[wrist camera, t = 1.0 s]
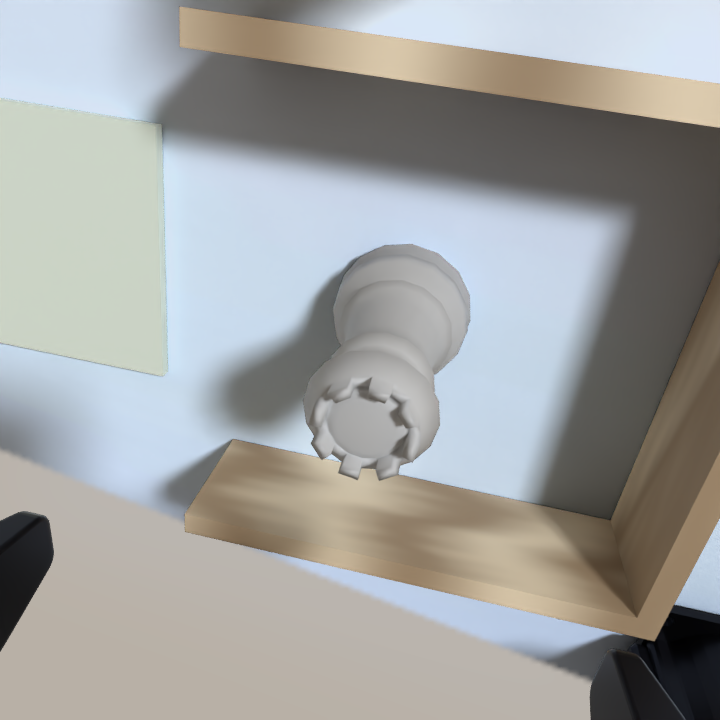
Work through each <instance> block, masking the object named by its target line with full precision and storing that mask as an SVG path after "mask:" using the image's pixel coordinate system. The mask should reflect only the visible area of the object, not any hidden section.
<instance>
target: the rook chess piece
mask: <svg viewBox="0 0 720 720" xmlns="http://www.w3.org/2000/svg"><path fill="white" fill-rule="evenodd" d="M333 315H334V323H335V331H336V338H337V340H338V341H339V343H340V345H341V346H340V347H339V348H338V349H337V350H336V351H335V352H334V353H333V355H332V357H331V359H329V360H327V361H325V363H324V364H323V365H322V366H321V367H320V368H319V369H318V370H317V371H316V372H315V373H314V374H313V375H312V376H311V377H310V379H309V382H308V385H307V388H306V392H305V395H304V398H303V404H304V411H305V417H306V423H307V425H308V427H309V428H310V430H311V431H312V433H313V435H314V438H313V440H312V442H311V444H312V446H313V448H314V449H315V451H316V452H317V454H318V456H319V457H320V459H321V460H323V459H324V458H326V457H328V456H329V455H331V454H333V455H334V456H335V457H336V458H338V459H339V460H341V461H342V462H341V465H340V468H339V471H338V473H339V474H342V475H345V476H347V477H350V478H353V479H356V480H358V478H359V475H360V471H361V468H363V469H376V474H377V477H378V480H379V481H381V480H384V479H387V478H390V477H393V476H396V475H398V473H399V468H400V465H403V464H406V463H409V462H412V463H413V461H414V460H415V459H416V458H417V457H418V456H420V455H421V454H422V453H423V452H424V451H425V450H427V449H428V448H429V447H430V446H431V444H432V442H433V439H434V437H435V435H436V433H437V430H438V428H439V426H440V417H439V401H438V399H437V397H436V395H435V393H434V392H435V389H434V374H437V373H438V372H439V371H440V370H441V369H442V368H443V367H444V366H446V365H447V364H448V363H449V362H450V361H451V360H452V359H453V358H454V357H455V356H456V355H457V354H458V352H459V350H460V347H461V345H462V343H463V340H464V338H465V336H466V334H467V331H468V328H467V327H468V325H469V322H470V295H469V293H468V290H467V288H466V286H465V284H464V282H463V280H462V278H461V276H460V273H459V271H457V270H456V269H455V268H454V267H453V266H452V265H451V264H450V263H448V262H447V261H446V260H445V259H444V258H443V257H442V256H441V255H439V254H438V253H436V252H433V251H430V250H427V249H424V248H422V247H419V246H416V245H413V244H402V245H384V246H382V247H380V248H377V249H375V250H373V251H371V252H369V253H367V254H365V255H363V256H360V257H359V259H358V260H357V261H356V262H355V263H354V264H353V265H352V267H351V268H350V269H349V270H348V271H347V272H346V273H345V275H344V276H343V279H342V282H341V285H340V287H339V290H338V294H337V297H336V300H335V304H334V307H333Z"/></svg>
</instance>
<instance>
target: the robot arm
mask: <svg viewBox="0 0 720 720" xmlns="http://www.w3.org/2000/svg"><path fill="white" fill-rule="evenodd" d="M53 555H54V550H53V543H52V537H51V530H50V523H49V520H48V519H47V517H46V516H44V515H40V514H36V513H31V512H26V511H23V512H18V513H16V514H14V515H12V516H9V517H7V518H5V519H3V520H1V521H0V651H1V650H2V648H3V646H4V645H5V643H6V642H7V640H8V638H9V636H10V635H11V633H12V631H13V630H14V628H15V626H16V624H17V623H18V621H19V619H20V618H21V616H22V614H23V612H24V611H25V609H26V607H27V606H28V604H29V602H30V600H31V599H32V597H33V595H34V593H35V592H36V590H37V588H38V587H39V585H40V583H41V581H42V580H43V578H44V576H45V575H46V573H47V571H48V569H49V568H50V566H51V563H52V560H53ZM590 712H591V720H720V616H718V615H713V614H709V613H705V612H700V611H696V610H691V609H687V608H682V607H678V606H674V605H673V607H672V609H671V611H670V613H669V615H668V618H667V619H666V621H665V622H664V624H663V626H662V628H661V630H660V632H659V634H658V636H657V638H656V639H655V641H651V640H647V639H643V638H638V639H637V641H636V643H634V644H633V645H632V646H631V647H630V648H629V649H628V651H627V652H626V651H622V650H617V649H610V650H608V651H607V653H606V654H605V656H604V658H603V660H602V662H601V664H600V667H599V669H598V671H597V673H596V675H595V677H594V679H593V682H592V685H591V690H590Z"/></svg>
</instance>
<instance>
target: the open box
mask: <svg viewBox="0 0 720 720" xmlns="http://www.w3.org/2000/svg"><path fill="white" fill-rule="evenodd" d="M179 23H180V47H184V48H191V49H197V50H204V51H211V52H217V53H224V54H231V55H237V56H244V57H251V58H257V59H264V60H271V61H277V62H284V63H291V64H297V65H304V66H311V67H317V68H324V69H331V70H337V71H344V72H351V73H357V74H364V75H371V76H377V77H384V78H391V79H397V80H404V81H411V82H417V83H424V84H431V85H438V86H444V87H451V88H458V89H464V90H471V91H478V92H484V93H491V94H498V95H504V96H511V97H518V98H524V99H531V100H538V101H544V102H551V103H558V104H564V105H571V106H578V107H584V108H591V109H598V110H604V111H611V112H618V113H624V114H631V115H638V116H644V117H651V118H658V119H664V120H671V121H678V122H684V123H691V124H698V125H704V126H711V127H718V128H720V84H718V83H711V82H704V81H697V80H690V79H683V78H676V77H669V76H662V75H655V74H648V73H641V72H634V71H627V70H620V69H613V68H606V67H599V66H592V65H585V64H578V63H571V62H564V61H557V60H550V59H543V58H536V57H529V56H522V55H515V54H508V53H501V52H494V51H487V50H480V49H473V48H466V47H459V46H452V45H445V44H438V43H431V42H424V41H417V40H410V39H403V38H396V37H389V36H382V35H375V34H368V33H361V32H354V31H347V30H340V29H333V28H326V27H319V26H312V25H305V24H298V23H291V22H284V21H277V20H270V19H263V18H256V17H249V16H242V15H235V14H228V13H221V12H214V11H207V10H200V9H193V8H186V7H179ZM340 465H341V462H337V461H333V460H328V459H323V460H321V459H320V458H319V457H314V456H309V455H305V454H300V453H295V452H291V451H286V450H281V449H277V448H272V447H268V446H263V445H258V444H254V443H249V442H244V441H240V440H235V439H233V440H232V442H231V443H230V445H229V446H228V448H227V449H226V451H225V452H224V454H223V456H222V457H221V459H220V460H219V462H218V463H217V465H216V466H215V468H214V470H213V471H212V473H211V474H210V476H209V477H208V479H207V480H206V482H205V483H204V485H203V487H202V488H201V490H200V491H199V493H198V494H197V496H196V497H195V499H194V500H193V502H192V504H191V505H190V507H189V508H188V510H187V511H186V513H185V532H188V533H192V534H196V535H201V536H205V537H210V538H214V539H218V540H222V541H226V542H231V543H235V544H239V545H244V546H248V547H252V548H256V549H261V550H265V551H269V552H274V553H278V554H282V555H286V556H291V557H295V558H299V559H304V560H308V561H312V562H317V563H321V564H325V565H329V566H334V567H338V568H342V569H347V570H351V571H355V572H359V573H364V574H368V575H372V576H377V577H381V578H385V579H389V580H394V581H398V582H402V583H407V584H411V585H415V586H419V587H424V588H428V589H432V590H437V591H441V592H445V593H449V594H454V595H458V596H462V597H467V598H471V599H475V600H480V601H484V602H488V603H492V604H497V605H501V606H505V607H510V608H514V609H518V610H522V611H527V612H531V613H535V614H540V615H544V616H548V617H552V618H557V619H561V620H565V621H570V622H574V623H578V624H582V625H587V626H591V627H595V628H600V629H604V630H608V631H612V632H617V633H621V634H625V635H630V636H634V637H638V638H643V639H647V640H651V641H655V639H656V638H657V636H658V634H659V632H660V630H661V628H662V626H663V624H664V622H665V621H666V619H667V617H668V615H669V613H670V611H671V609H672V607H673V605H674V604H675V602H676V600H677V598H678V596H679V594H680V592H681V590H682V588H683V587H684V585H685V583H686V581H687V579H688V577H689V575H690V573H691V571H692V570H693V568H694V566H695V564H696V562H697V560H698V558H699V556H700V554H701V553H702V551H703V549H704V547H705V545H706V543H707V541H708V539H709V537H710V536H711V534H712V532H713V530H714V528H715V526H716V524H717V522H718V520H719V519H720V261H719V263H718V266H717V268H716V270H715V273H714V275H713V278H712V280H711V282H710V285H709V287H708V289H707V292H706V294H705V297H704V299H703V301H702V304H701V306H700V308H699V311H698V313H697V316H696V318H695V320H694V323H693V325H692V327H691V330H690V332H689V335H688V337H687V339H686V342H685V344H684V347H683V349H682V351H681V354H680V356H679V358H678V361H677V363H676V366H675V368H674V370H673V373H672V375H671V377H670V380H669V382H668V385H667V387H666V389H665V392H664V394H663V397H662V399H661V401H660V404H659V406H658V408H657V411H656V413H655V416H654V418H653V420H652V423H651V425H650V427H649V430H648V432H647V435H646V437H645V439H644V442H643V444H642V446H641V449H640V451H639V454H638V456H637V458H636V461H635V463H634V466H633V468H632V470H631V473H630V475H629V477H628V480H627V482H626V485H625V487H624V489H623V492H622V494H621V496H620V499H619V501H618V504H617V506H616V508H615V511H614V513H613V515H612V518H611V520H606V519H602V518H597V517H593V516H588V515H583V514H579V513H574V512H569V511H565V510H560V509H555V508H551V507H546V506H541V505H537V504H532V503H528V502H523V501H518V500H514V499H509V498H504V497H500V496H495V495H490V494H486V493H481V492H476V491H472V490H467V489H463V488H458V487H453V486H449V485H444V484H439V483H435V482H430V481H425V480H421V479H416V478H411V477H407V476H402V475H396V476H393V477H390V478H387V479H384V480H381V481H379V480H378V477H377V474H376V470H374V469H363V468H361V471H360V475H359V478H358V480H356V479H353V478H350V477H347V476H345V475H342V474H339V473H338V471H339V468H340Z"/></svg>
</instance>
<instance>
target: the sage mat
mask: <svg viewBox="0 0 720 720" xmlns="http://www.w3.org/2000/svg"><path fill="white" fill-rule="evenodd" d="M0 343H4V344H9V345H14V346H19V347H24V348H28V349H33V350H38V351H43V352H48V353H52V354H57V355H62V356H67V357H72V358H77V359H81V360H86V361H91V362H96V363H101V364H106V365H110V366H115V367H120V368H125V369H130V370H135V371H139V372H144V373H149V374H154V375H159V376H164V375H165V374H166V373H167V372H168V354H167V313H166V271H165V230H164V188H163V147H162V124H157V123H151V122H145V121H139V120H133V119H126V118H120V117H114V116H108V115H102V114H96V113H90V112H84V111H78V110H71V109H65V108H59V107H53V106H47V105H41V104H35V103H29V102H23V101H17V100H10V99H4V98H0Z"/></svg>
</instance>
